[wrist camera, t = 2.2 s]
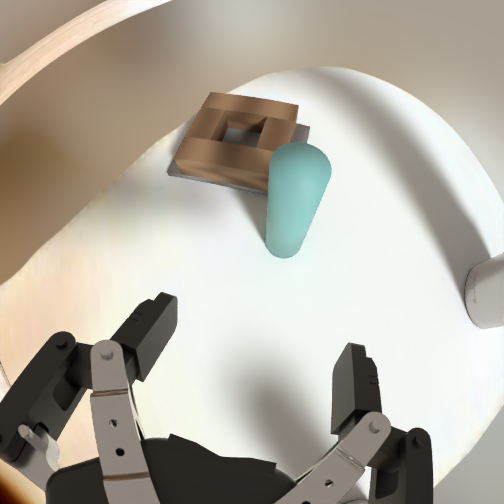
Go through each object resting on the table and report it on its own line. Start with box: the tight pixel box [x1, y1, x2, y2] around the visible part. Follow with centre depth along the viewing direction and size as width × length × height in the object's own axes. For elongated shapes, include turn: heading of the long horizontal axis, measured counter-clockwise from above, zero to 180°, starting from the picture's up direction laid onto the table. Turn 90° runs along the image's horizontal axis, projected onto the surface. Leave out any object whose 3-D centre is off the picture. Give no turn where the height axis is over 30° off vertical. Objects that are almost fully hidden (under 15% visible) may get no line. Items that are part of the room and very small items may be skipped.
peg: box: [265, 142, 331, 258], centre depth 23 cm, size 4×4×14 cm
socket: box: [167, 92, 310, 195], centre depth 32 cm, size 16×12×4 cm
